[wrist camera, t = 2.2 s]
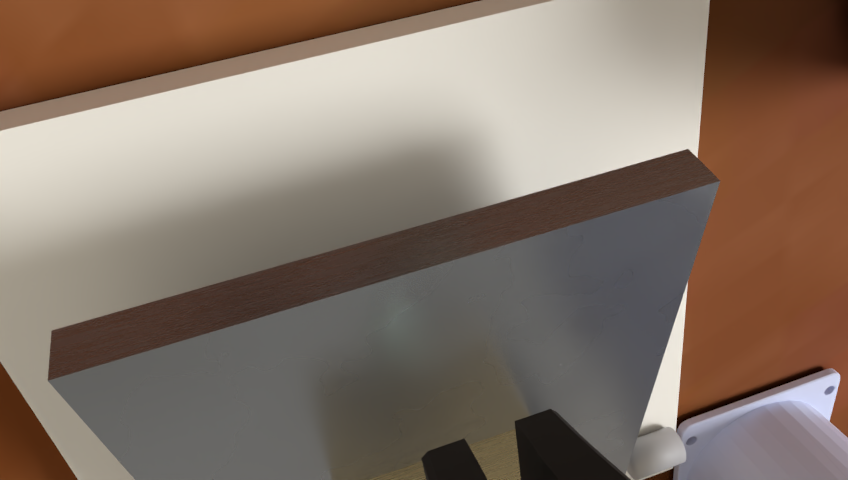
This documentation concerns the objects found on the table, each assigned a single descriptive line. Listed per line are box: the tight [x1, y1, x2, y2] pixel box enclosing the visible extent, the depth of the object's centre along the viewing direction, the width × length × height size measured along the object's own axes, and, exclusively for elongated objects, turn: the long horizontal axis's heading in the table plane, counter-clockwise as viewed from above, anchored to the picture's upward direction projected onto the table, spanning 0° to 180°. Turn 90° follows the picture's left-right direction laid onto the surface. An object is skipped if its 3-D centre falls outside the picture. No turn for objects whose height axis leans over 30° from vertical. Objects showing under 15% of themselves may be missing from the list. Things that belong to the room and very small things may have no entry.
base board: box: [0, 0, 710, 480], centre depth 21 cm, size 20×20×3 cm
